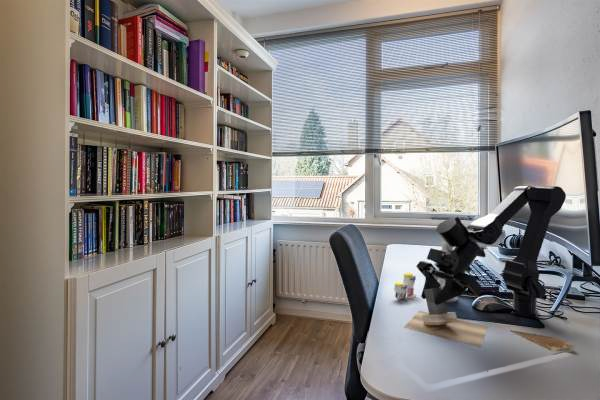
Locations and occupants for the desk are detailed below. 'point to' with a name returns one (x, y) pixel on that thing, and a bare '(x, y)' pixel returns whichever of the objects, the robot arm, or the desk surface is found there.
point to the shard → (546, 342)
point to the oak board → (451, 330)
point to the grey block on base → (437, 310)
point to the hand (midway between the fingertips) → (428, 300)
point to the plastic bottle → (441, 281)
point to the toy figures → (405, 287)
